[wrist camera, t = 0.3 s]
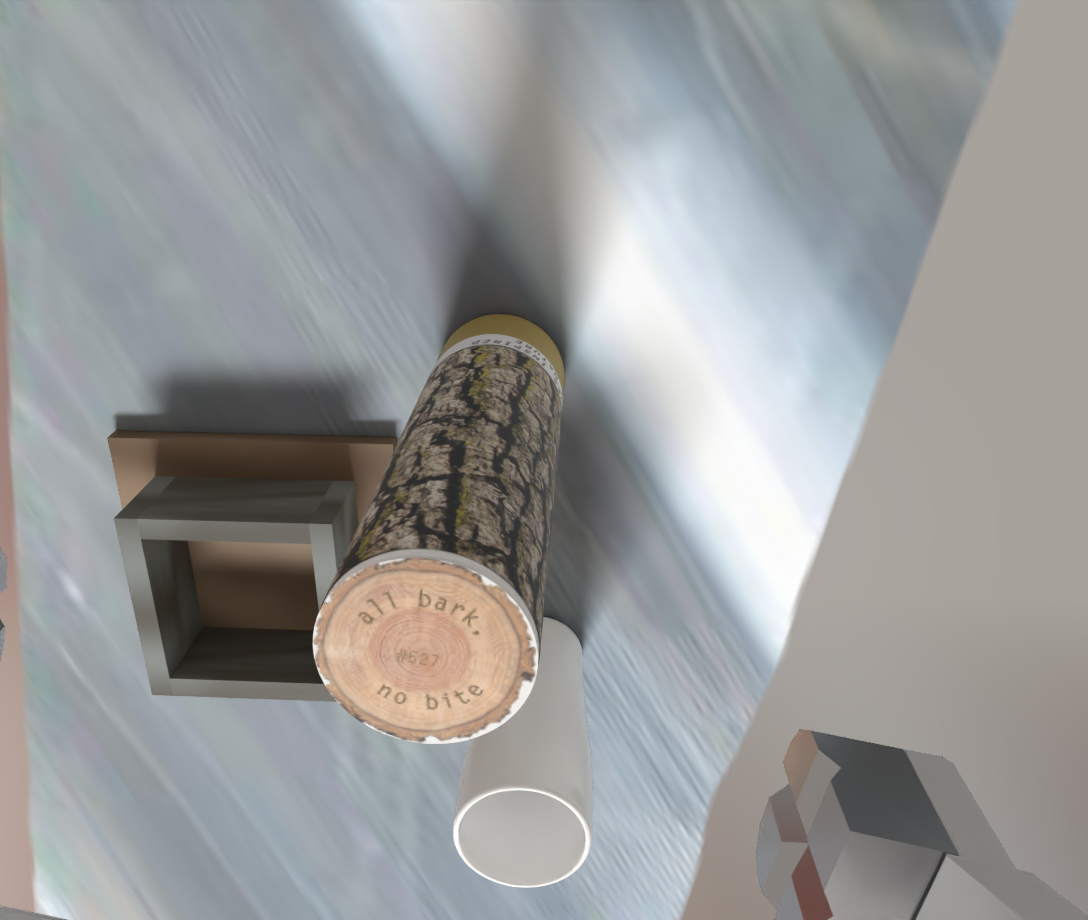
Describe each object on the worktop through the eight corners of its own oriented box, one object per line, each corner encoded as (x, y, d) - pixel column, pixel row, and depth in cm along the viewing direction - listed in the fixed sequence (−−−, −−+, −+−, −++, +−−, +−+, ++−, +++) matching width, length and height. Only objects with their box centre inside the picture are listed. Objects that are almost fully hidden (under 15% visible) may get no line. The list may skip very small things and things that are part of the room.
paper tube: (448, 298, 49) (320, 537, 27) (576, 322, 49) (557, 580, 27) (432, 417, 52) (304, 724, 29) (553, 439, 52) (519, 761, 30)
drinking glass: (468, 669, 59) (430, 862, 46) (509, 586, 56) (481, 765, 43) (567, 706, 60) (558, 907, 46) (612, 626, 57) (617, 814, 44)
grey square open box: (115, 430, 53) (61, 477, 48) (396, 437, 53) (373, 485, 47) (163, 661, 60) (120, 725, 55) (412, 670, 59) (393, 735, 54)
